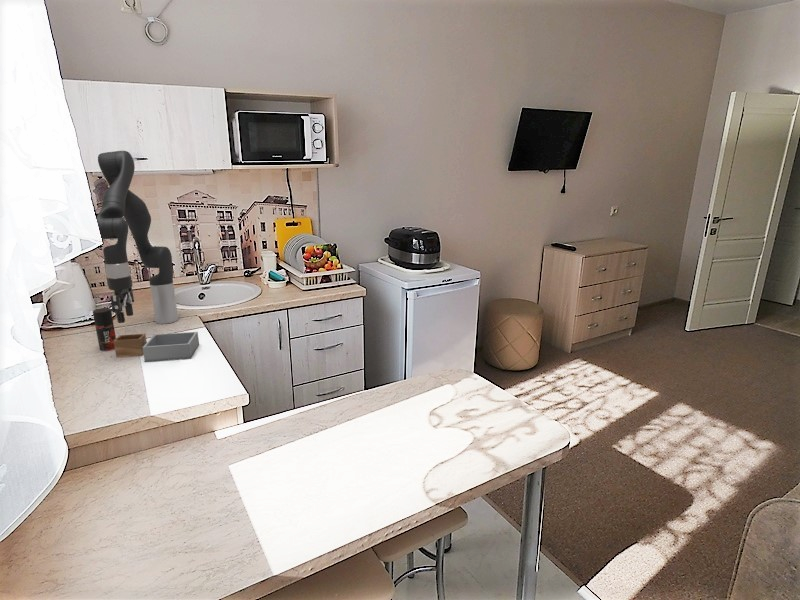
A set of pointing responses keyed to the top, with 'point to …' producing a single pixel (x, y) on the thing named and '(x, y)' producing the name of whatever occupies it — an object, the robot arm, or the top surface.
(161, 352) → the crate large
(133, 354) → the crate small
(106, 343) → the deodorant
